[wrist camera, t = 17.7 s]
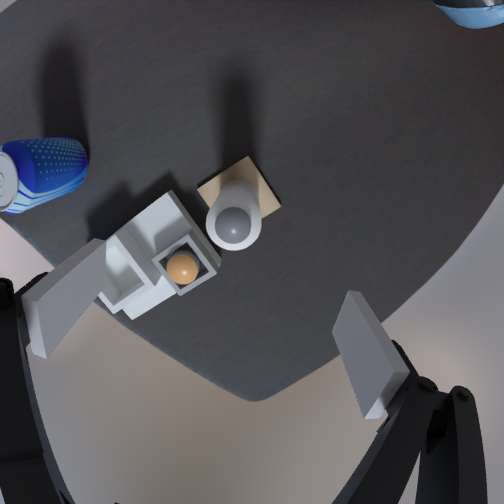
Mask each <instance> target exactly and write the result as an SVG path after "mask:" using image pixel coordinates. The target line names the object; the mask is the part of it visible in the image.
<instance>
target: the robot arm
mask: <svg viewBox="0 0 504 504" xmlns="http://www.w3.org/2000/svg"><path fill="white" fill-rule="evenodd" d="M430 1H431V2H432V3H433V4H434V5H435V6H437V7H439V8H440V9H442V10H443V11H444V12H445V13H446V14H447V15H448V16H449V17H450V18H451V19H452V20H453V21H454V22H456V23H457V24H459V25H462V26H464V27H467V28H486V27H490V26H494V25H498V24H501V23H503V22H504V0H430ZM106 243H107V241H104V240H100V239H95V238H94V239H93V240H91V241H90V242H89V243H87V244H86V245H85V246H83V247H82V248H81V249H79V250H78V251H77V252H75V253H74V254H73V255H71V256H70V257H69V258H67V259H66V260H65V261H64V262H62V263H61V264H60V265H58V266H57V267H56V268H55V269H54V270H52V271H51V272H50V273H48V272H44V273H42V274H39V275H37V276H36V277H35V278H33V279H32V280H31V282H28V283H27V284H26V286H23V287H22V288H21V289H20V290H19V291H17V292H16V293H15V294H14V289H13V283H12V281H11V280H9V279H6V278H0V488H1V491H2V495H3V498H4V501H5V504H75V502H74V500H73V499H72V497H71V495H70V493H69V491H68V489H67V487H66V484H65V482H64V480H63V478H62V475H61V473H60V471H59V468H58V465H57V463H56V460H55V457H54V454H53V452H52V449H51V446H50V443H49V440H48V437H47V434H46V431H45V428H44V424H43V421H42V418H41V414H40V410H39V407H38V403H37V399H36V395H35V391H34V387H33V382H32V377H31V372H30V368H29V362H28V357H27V352H26V346H27V345H28V344H29V343H31V348H32V351H33V353H34V354H36V355H38V356H41V357H43V358H46V359H47V358H48V357H49V356H50V354H51V353H52V352H53V350H54V349H55V348H56V347H57V345H58V344H59V343H60V341H61V340H62V339H63V337H64V336H65V335H66V334H67V332H68V331H69V330H70V329H71V327H72V326H73V325H74V324H75V322H76V321H77V320H78V319H79V317H80V316H81V315H82V314H83V313H84V311H85V310H86V309H87V308H88V306H89V305H90V304H91V303H92V302H93V301H94V299H95V298H96V297H97V296H98V295H99V294H100V292H101V291H102V290H103V289H104V288H105V274H106ZM332 334H333V336H334V339H335V341H336V344H337V347H338V349H339V352H340V354H341V357H342V360H343V362H344V365H345V368H346V370H347V373H348V376H349V379H350V381H351V384H352V386H353V389H354V392H355V395H356V398H357V401H358V403H359V406H360V409H361V412H362V415H363V418H364V419H375V418H376V419H377V418H378V419H379V418H380V416H381V415H382V414H383V412H384V411H385V409H386V411H387V413H388V417H387V418H386V420H385V421H384V422H383V424H382V425H381V426H380V428H379V429H378V430H377V432H378V434H377V435H376V437H375V439H374V441H373V442H372V444H371V446H370V447H369V449H368V451H367V452H366V454H365V456H364V457H363V459H362V460H361V462H360V464H359V465H358V467H357V468H356V470H355V471H354V473H353V474H352V476H351V477H350V479H349V480H348V482H347V483H346V485H345V486H344V487H343V489H342V490H341V492H340V493H339V495H338V496H337V497H336V499H335V500H334V501H333V503H332V504H398V502H399V500H400V498H401V496H402V493H403V491H404V489H405V487H406V485H407V482H408V480H409V478H410V475H411V473H412V471H413V468H414V466H415V463H416V461H417V458H418V455H419V452H420V465H419V476H418V485H417V493H416V500H415V504H487V503H488V502H487V482H486V470H485V459H484V452H483V443H482V437H481V431H480V424H479V419H478V413H477V408H476V403H475V398H474V396H473V394H472V393H471V392H470V391H469V390H468V389H467V388H464V387H462V386H455V387H453V388H452V390H451V391H450V393H444V392H440V391H438V388H437V386H436V384H435V383H434V382H433V381H431V380H430V379H428V378H425V377H422V376H419V375H418V373H417V371H416V370H415V368H414V366H413V365H412V363H411V362H410V360H409V358H408V357H407V355H405V352H404V350H403V349H402V347H401V346H400V345H399V344H398V343H397V342H396V341H394V340H391V339H390V338H389V336H388V335H387V333H386V331H385V330H384V328H383V327H382V325H381V323H380V322H379V320H378V319H377V317H376V316H375V314H374V312H373V311H372V309H371V308H370V306H369V305H368V303H367V302H366V300H365V299H364V297H363V295H362V294H361V292H356V291H350V290H348V292H347V295H346V297H345V300H344V303H343V305H342V308H341V310H340V313H339V315H338V318H337V320H336V323H335V325H334V327H333V330H332ZM420 450H421V451H420ZM115 504H118V503H115Z"/></svg>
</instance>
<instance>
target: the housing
mask: <svg viewBox="0 0 504 504" xmlns="http://www.w3.org/2000/svg"><path fill="white" fill-rule="evenodd" d="M106 241H107V243H106V274H105V288H104V289H103V290H102V291H101V292H100V294H99V295H98V296H99V297H100V299H101V300H102V301H103V302H104V303H105V305H106V306H107V307H108V308H109V309H110V311H111V312H112V313H113V314H115V313H116V312H118V311H119V310H121V309H123V310H124V311H125V313H126V314H127V315H128V316H129V317H130V318H131V319H132V320H133V319H135V318H136V317H138V316H140V315H141V314H143V313H144V312H146V311H148V310H149V309H151V308H153V307H154V306H156V305H157V304H159V303H161V302H162V301H164V300H165V299H167V298H169V297H170V296H172V295H174V294H175V293H178V295H179V296H181V295H183V294H184V293H186V292H187V291H189V290H191V289H192V288H194V287H196V286H197V285H199V284H201V283H202V282H204V281H206V280H207V279H209V278H210V277H212V276H214V275H215V274H217V272H218V268H219V266H220V263H221V258H220V256H219V255H218V254H217V252H216V251H215V249H214V248H213V247H212V245H211V244H210V243H209V241H208V240H207V238H206V237H205V236H204V234H203V233H202V231H201V230H200V229H199V227H198V226H197V224H196V223H195V222H194V220H193V219H192V217H191V216H190V215H189V213H188V212H187V210H186V209H185V208H184V206H183V205H182V203H181V202H180V201H179V199H178V198H177V196H176V195H175V193H174V192H173V191H172V189H171V190H170V191H168V192H167V193H166V194H164V195H163V196H162V197H160V198H159V199H158V200H156V201H155V202H154V203H152V204H151V205H150V206H148V207H147V208H146V209H144V210H143V211H142V212H140V213H139V214H138V215H137V216H135V217H134V218H133V219H132V220H130V221H129V222H128V223H126V224H125V225H124V226H123V227H122V228H120V229H119V230H118V231H117V232H115V233H114V234H113V235H112V236H110V237H109V238H108V239H107V240H106ZM180 247H191V248H192V249H193V251H194V252H195V253H196V255H197V256H198V257H199V259H200V260H201V266H200V268H199V271H198V274H197V277H196V278H195V280H194V281H192V282H191V283H189V284H178V283H176V282H174V281H173V280H172V279H171V278H170V277H169V276H168V273H167V269H166V268H167V263H168V261H169V260H170V258H171V256H172V255H173V253H174V252H175V251H176V250H177V249H178V248H180Z"/></svg>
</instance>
